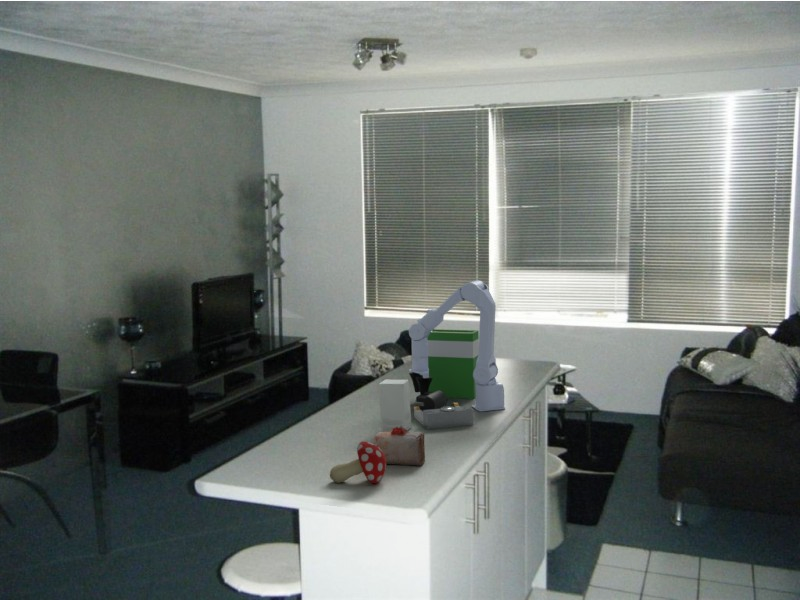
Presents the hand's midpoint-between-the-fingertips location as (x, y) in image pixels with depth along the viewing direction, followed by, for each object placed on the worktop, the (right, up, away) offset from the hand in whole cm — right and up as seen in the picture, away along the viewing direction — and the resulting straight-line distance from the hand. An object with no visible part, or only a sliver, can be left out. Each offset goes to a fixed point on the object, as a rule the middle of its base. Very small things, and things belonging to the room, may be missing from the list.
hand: (421, 394), depth 285 cm
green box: (+13, -2, +12) cm, 17 cm away
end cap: (+3, -5, -12) cm, 13 cm away
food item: (-7, -11, -65) cm, 67 cm away
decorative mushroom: (-18, -13, -80) cm, 83 cm away
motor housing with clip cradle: (+7, -6, -24) cm, 26 cm away
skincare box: (-9, -8, -33) cm, 34 cm away
